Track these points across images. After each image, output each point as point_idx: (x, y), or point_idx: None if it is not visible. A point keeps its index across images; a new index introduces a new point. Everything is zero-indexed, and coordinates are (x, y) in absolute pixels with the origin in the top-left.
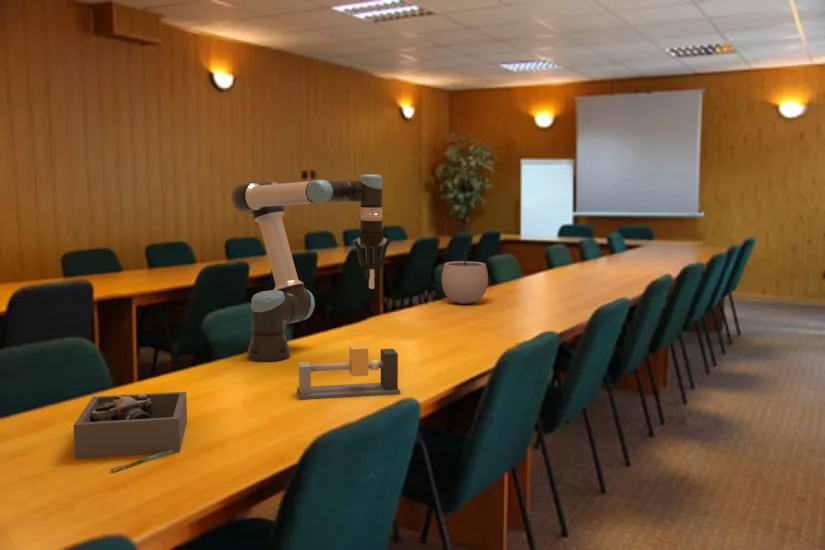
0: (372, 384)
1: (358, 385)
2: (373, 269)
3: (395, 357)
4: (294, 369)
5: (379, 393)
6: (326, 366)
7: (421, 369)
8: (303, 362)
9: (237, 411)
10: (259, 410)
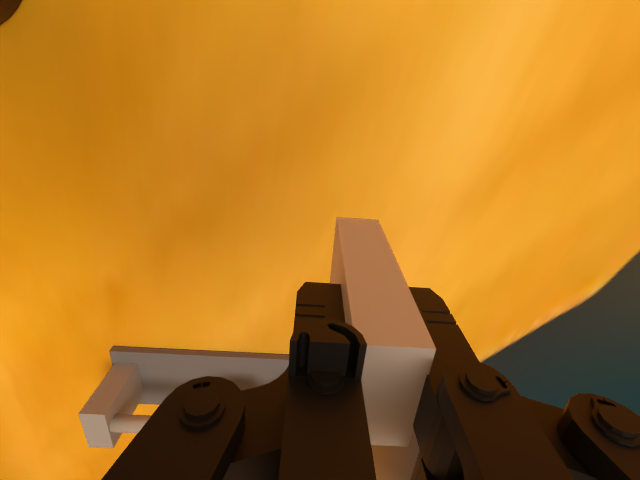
0: (276, 368)
1: (245, 368)
2: (414, 410)
3: None
4: (79, 165)
5: None
6: None
7: (441, 255)
8: (91, 417)
9: (21, 426)
10: (59, 429)
